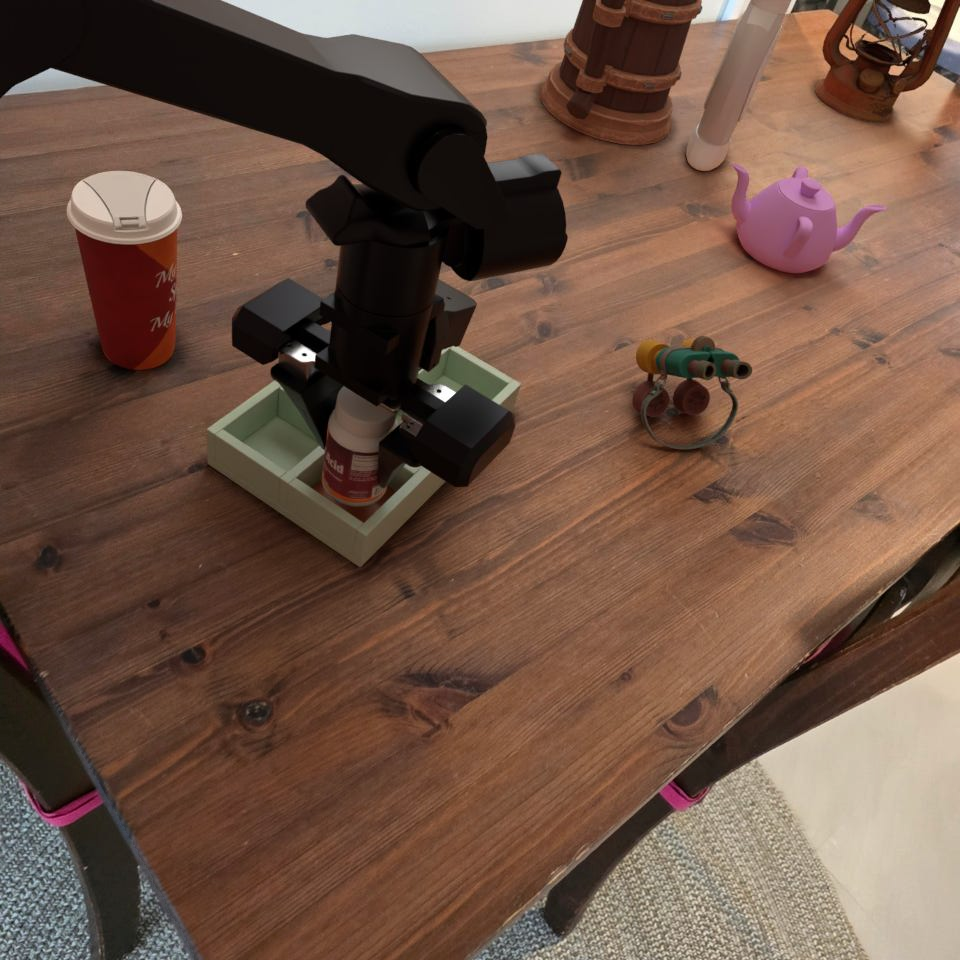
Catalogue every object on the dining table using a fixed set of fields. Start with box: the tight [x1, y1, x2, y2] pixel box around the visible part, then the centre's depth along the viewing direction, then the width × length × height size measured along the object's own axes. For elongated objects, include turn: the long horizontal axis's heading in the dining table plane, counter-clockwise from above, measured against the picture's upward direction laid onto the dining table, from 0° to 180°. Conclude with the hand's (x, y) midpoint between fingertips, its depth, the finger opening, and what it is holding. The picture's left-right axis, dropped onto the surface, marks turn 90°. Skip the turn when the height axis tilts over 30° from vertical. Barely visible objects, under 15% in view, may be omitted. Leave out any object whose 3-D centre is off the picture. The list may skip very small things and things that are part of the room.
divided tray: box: [206, 346, 522, 568], centre depth 70 cm, size 14×21×4 cm
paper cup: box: [66, 170, 183, 371], centre depth 68 cm, size 8×8×14 cm
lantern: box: [814, 0, 960, 124], centre depth 130 cm, size 17×13×30 cm
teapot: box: [730, 162, 888, 274], centre depth 101 cm, size 12×14×9 cm
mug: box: [539, 0, 703, 146], centre depth 111 cm, size 18×23×20 cm
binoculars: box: [631, 335, 753, 450], centre depth 76 cm, size 9×9×10 cm
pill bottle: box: [322, 386, 398, 506], centre depth 61 cm, size 5×5×8 cm
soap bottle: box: [685, 0, 792, 172], centre depth 108 cm, size 13×8×24 cm, turn 157°
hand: (357, 465), depth 62 cm, fingers closed on pill bottle, 5 cm apart
